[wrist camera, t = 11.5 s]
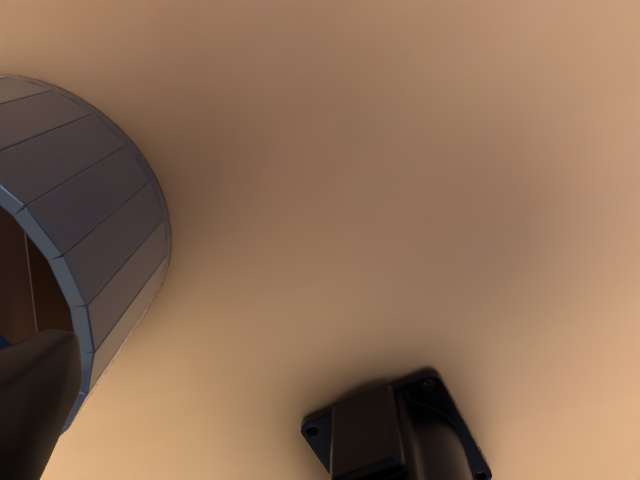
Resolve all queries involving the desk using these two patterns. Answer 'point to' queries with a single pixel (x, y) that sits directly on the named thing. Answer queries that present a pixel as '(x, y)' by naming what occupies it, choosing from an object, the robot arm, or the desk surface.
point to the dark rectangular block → (27, 287)
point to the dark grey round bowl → (84, 215)
